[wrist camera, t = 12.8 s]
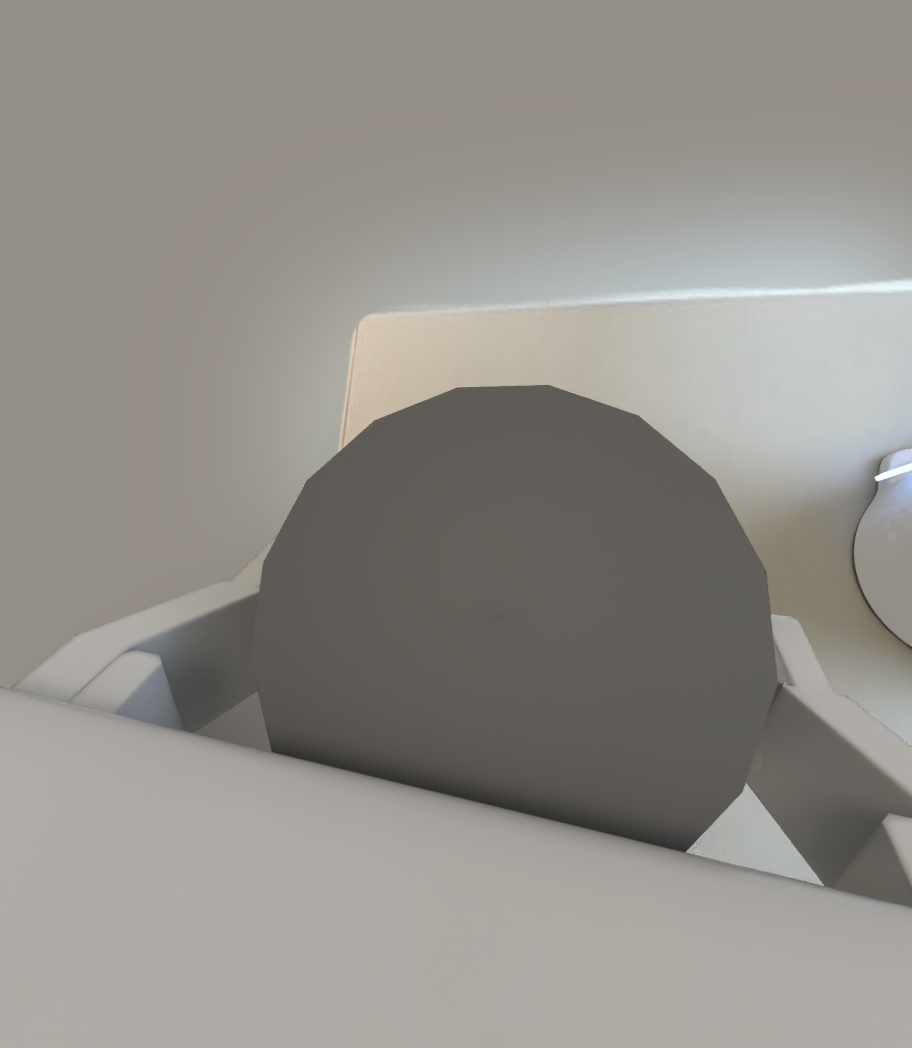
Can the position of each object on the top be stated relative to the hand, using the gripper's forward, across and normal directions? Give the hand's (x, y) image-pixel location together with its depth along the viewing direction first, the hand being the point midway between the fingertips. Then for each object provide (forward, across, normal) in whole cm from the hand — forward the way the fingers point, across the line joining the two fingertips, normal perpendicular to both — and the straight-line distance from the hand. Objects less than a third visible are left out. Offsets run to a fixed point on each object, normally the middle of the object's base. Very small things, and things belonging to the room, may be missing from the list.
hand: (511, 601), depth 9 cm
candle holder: (+15, 0, +16) cm, 22 cm away
